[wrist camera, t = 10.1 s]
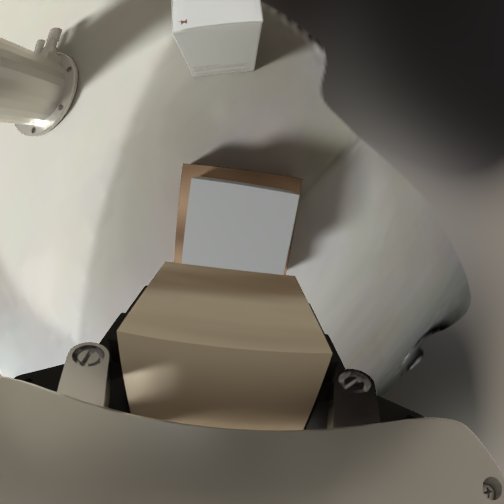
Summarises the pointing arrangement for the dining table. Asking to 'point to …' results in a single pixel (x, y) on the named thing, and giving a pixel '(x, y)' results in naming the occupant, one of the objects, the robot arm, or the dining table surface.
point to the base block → (232, 175)
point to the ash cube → (223, 349)
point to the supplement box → (217, 34)
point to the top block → (238, 225)
